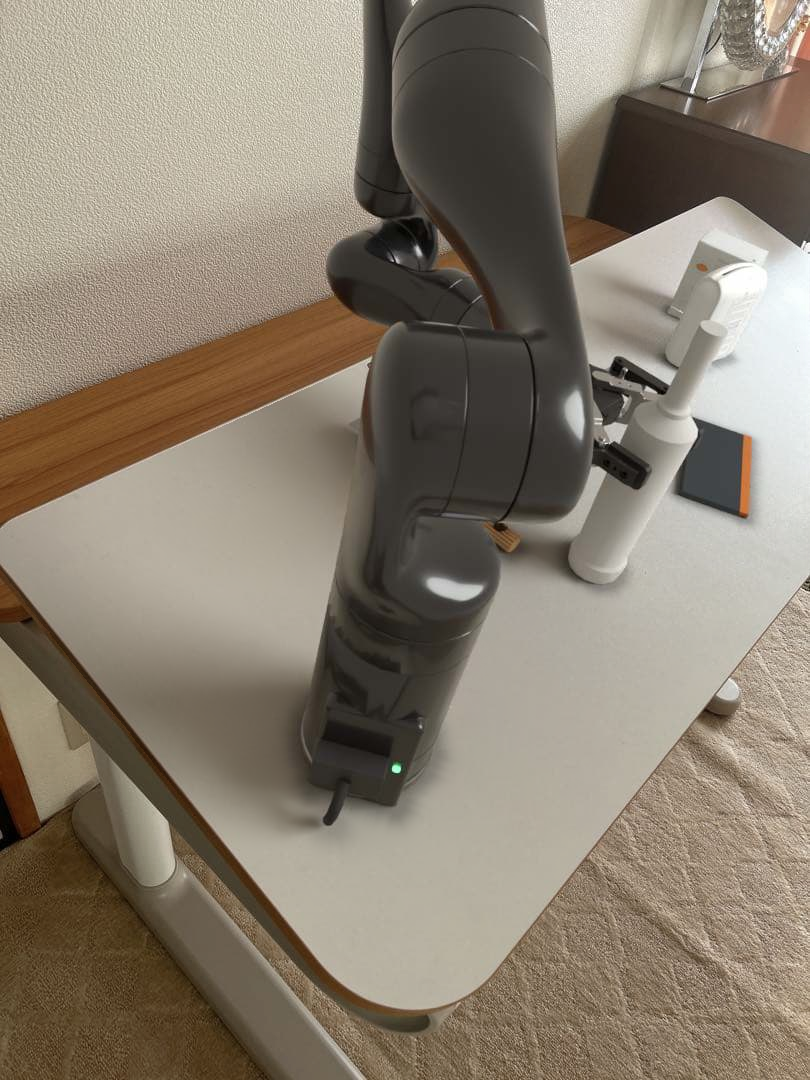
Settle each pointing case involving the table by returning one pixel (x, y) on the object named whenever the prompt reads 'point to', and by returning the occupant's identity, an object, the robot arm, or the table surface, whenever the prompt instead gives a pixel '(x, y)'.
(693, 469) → the mat
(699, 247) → the small box
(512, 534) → the paintbrush
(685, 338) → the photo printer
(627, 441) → the bottle
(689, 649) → the table surface
